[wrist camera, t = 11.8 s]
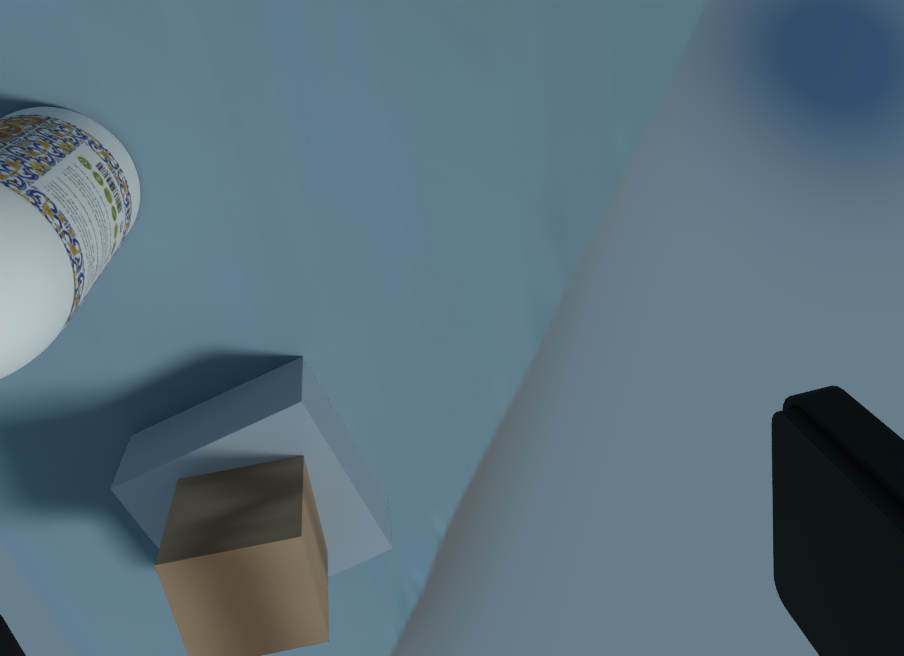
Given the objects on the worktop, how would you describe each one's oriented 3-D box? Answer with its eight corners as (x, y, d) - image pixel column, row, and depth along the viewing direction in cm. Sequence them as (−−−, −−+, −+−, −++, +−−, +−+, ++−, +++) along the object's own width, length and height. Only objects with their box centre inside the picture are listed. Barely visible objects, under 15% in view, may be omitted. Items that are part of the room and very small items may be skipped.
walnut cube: (303, 455, 39) (301, 536, 33) (327, 551, 41) (328, 641, 36) (177, 479, 38) (154, 565, 33) (209, 575, 41) (193, 669, 35)
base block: (303, 353, 42) (301, 401, 37) (385, 491, 46) (392, 548, 42) (132, 432, 42) (110, 489, 38) (229, 561, 47) (220, 625, 42)
